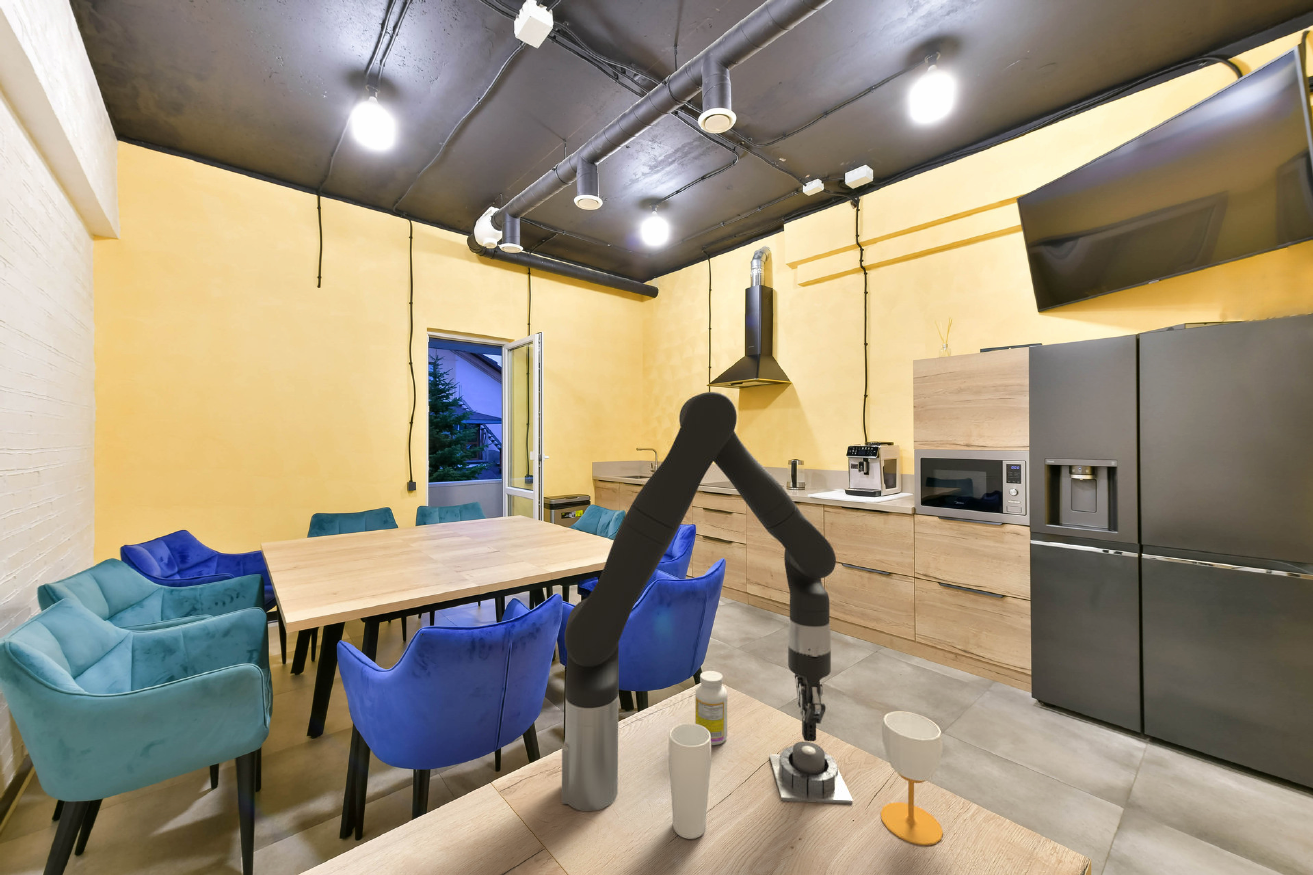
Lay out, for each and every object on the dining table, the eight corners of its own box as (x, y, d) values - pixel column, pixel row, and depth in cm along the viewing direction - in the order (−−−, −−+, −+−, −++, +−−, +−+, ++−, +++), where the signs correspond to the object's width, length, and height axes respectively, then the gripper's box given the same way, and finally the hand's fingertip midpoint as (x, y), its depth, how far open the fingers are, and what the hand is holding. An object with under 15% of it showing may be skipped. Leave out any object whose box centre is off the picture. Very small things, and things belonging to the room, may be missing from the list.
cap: (796, 784, 90) (797, 758, 90) (789, 764, 96) (789, 739, 96) (828, 786, 90) (828, 760, 90) (819, 765, 96) (819, 741, 96)
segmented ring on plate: (781, 800, 87) (781, 782, 87) (769, 756, 99) (769, 741, 99) (852, 803, 87) (852, 785, 87) (831, 759, 99) (831, 743, 99)
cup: (911, 798, 88) (911, 706, 88) (956, 837, 80) (957, 735, 80) (868, 809, 85) (869, 714, 85) (910, 851, 77) (911, 745, 77)
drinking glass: (708, 848, 77) (709, 749, 77) (664, 840, 78) (665, 743, 78) (712, 815, 84) (713, 724, 84) (672, 809, 85) (672, 720, 85)
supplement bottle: (705, 724, 110) (705, 665, 110) (732, 735, 107) (733, 673, 107) (689, 739, 105) (689, 677, 105) (717, 750, 101) (717, 686, 101)
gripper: (781, 630, 100) (781, 718, 100) (796, 659, 87) (796, 761, 87) (820, 631, 100) (819, 719, 100) (841, 660, 86) (841, 762, 86)
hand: (809, 738), depth 93 cm, fingers closed
